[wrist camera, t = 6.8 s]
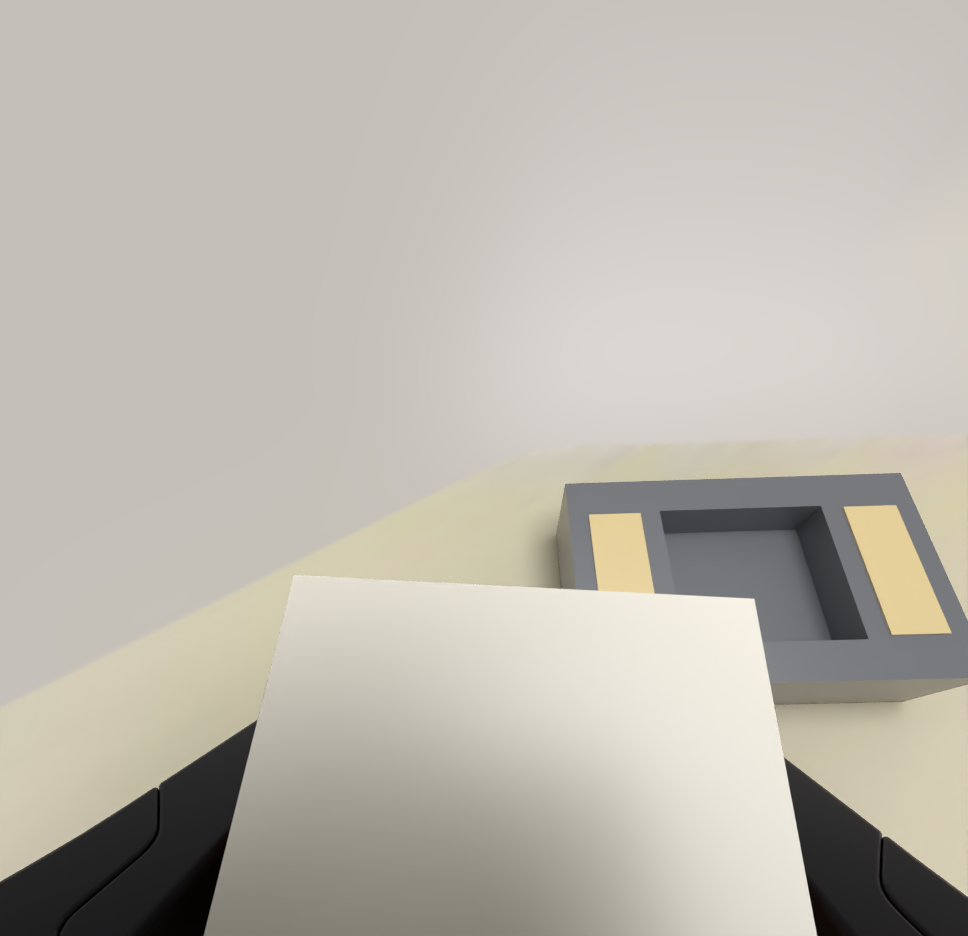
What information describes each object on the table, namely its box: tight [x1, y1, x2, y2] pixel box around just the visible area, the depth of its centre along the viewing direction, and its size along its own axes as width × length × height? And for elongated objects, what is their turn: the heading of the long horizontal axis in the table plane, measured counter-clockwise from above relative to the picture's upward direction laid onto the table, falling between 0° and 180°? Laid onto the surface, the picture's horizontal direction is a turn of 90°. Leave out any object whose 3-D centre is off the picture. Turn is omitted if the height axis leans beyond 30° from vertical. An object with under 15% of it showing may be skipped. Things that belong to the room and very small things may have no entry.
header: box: [556, 473, 968, 704], centre depth 21 cm, size 7×12×5 cm, turn 91°
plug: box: [204, 575, 817, 936], centre depth 8 cm, size 3×4×9 cm
